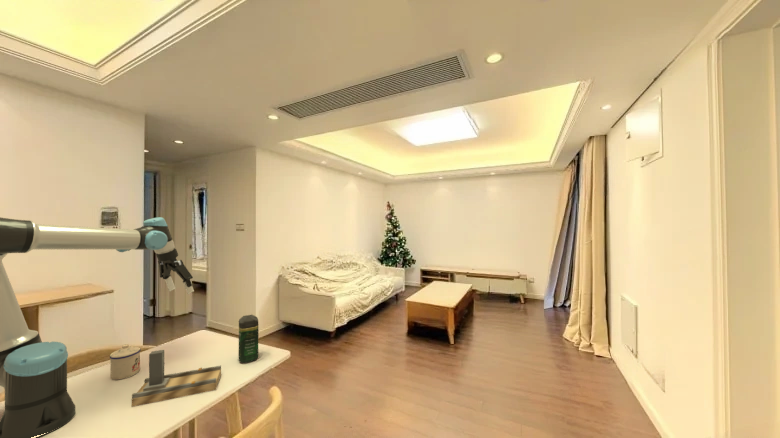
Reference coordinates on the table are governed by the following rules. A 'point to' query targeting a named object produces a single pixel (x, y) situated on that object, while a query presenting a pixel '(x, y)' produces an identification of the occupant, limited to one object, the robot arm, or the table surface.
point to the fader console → (180, 385)
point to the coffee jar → (248, 338)
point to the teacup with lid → (125, 362)
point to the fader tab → (156, 371)
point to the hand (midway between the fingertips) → (181, 291)
